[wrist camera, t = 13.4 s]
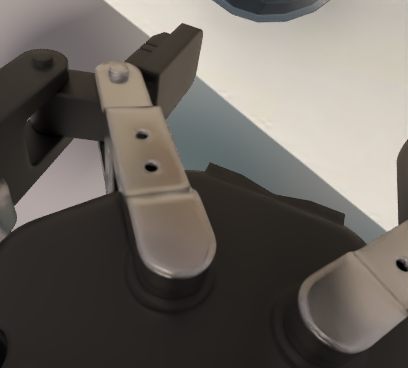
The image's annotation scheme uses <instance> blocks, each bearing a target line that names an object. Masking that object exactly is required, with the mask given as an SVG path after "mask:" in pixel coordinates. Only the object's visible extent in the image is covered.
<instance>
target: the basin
mask: <svg viewBox="0 0 408 368" xmlns="http://www.w3.org/2000/svg"><path fill="white" fill-rule="evenodd" d="M213 1H214V2H216V3H217V4H219V5H220V6H221V7H223V8H224V9H225V10H227V11H228V12H230V13H231V14H233V15H236V16H239V17H242V18H246V19H249V20H252V21H255V22H286V21H289V20H292V19H295V18H298V17H301V16H304V15H306V14H309V13H312V12H314V11H316V10H318V9H319V8H320V7H322V6H323V5H324V4H326V3H327V2H328V1H330V0H213Z"/></svg>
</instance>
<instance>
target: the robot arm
mask: <svg viewBox="0 0 408 368" xmlns="http://www.w3.org/2000/svg"><path fill="white" fill-rule="evenodd" d="M202 38H203V31H202V30H201V29H198V28H195V27H192V26H189V25H186V24H183V23H182V24H181V25H179V26H178V27H177V28H176V29H175V30H174V31H173V32H172V33H171V34H169V33H166V32H164V33H161V34H157V35H154V36H152V37H151V38H150V39H149V40H148V41H147V42H146V44H144V45H142V46H141V47H140V49H138V50H137V51H136V52H134V54H132V55H131V56H130V57H129V58H128V59H127V60H125V61H124V62H122V61H109V62H105V63H102V64H100V65H99V66H97V67H96V69H95V73H90V72H82V71H76V70H69V68H68V60H67V58H66V57H65V56H64V55H63V54H62V53H59V52H57V51H54V50H49V49H34V50H30V51H26V52H24V53H23V54H21V55H19V56H18V57H16V58H15V59H14V60H12V61H11V62H9V63H8V64H6V65H5V66H4V67H2V68H1V69H0V368H408V140H407V141H406V142H405V144H404V145H403V147H402V148H401V150H400V152H399V155H398V158H397V189H398V224H399V225H398V226H396V227H395V228H393V229H392V230H390V231H388V232H387V233H385V234H383V235H382V236H380V237H379V238H377V239H375V240H374V241H372V242H370V243H369V244H366V243H365V242H364V241H363V240H362V239H361V238H360V237H359V236H358V235H357V234H356V233H354V232H353V231H352V230H350V229H349V228H348V227H346V226H344V217H345V214H343V213H341V212H338V211H335V210H333V209H330V208H327V207H325V206H322V205H320V204H317V203H314V202H312V201H308V200H302V199H297V198H292V197H286V196H281V195H275V194H273V193H271V192H269V191H268V190H266V189H265V188H263V187H261V186H260V185H258V184H256V183H255V182H253V181H251V180H250V179H248V178H246V177H245V176H243V175H241V174H239V173H236V172H233V171H231V170H228V169H226V168H223V167H220V166H217V165H215V164H213V163H209V165H208V167H207V169H206V171H199V170H184V167H183V165H182V162H181V159H180V156H179V154H178V151H177V149H176V145H175V143H174V140H173V137H172V135H171V132H170V129H169V126H168V124H167V121H166V119H167V117H168V116H169V115H170V113H171V112H172V111H173V109H174V108H175V107H176V105H177V104H178V103H179V101H180V100H181V99H182V97H183V96H184V95H185V94H186V92H187V91H188V90H189V88H190V87H191V85H192V83H193V81H194V78H195V75H196V71H197V66H198V60H199V55H200V49H201V44H202ZM29 118H30V119H29ZM28 119H29V120H28ZM27 120H28V121H27ZM73 138H79V139H88V140H95V141H98V147H99V153H100V159H101V165H102V170H103V176H104V181H105V189H106V195H103V196H101V197H98V198H95V199H92V200H89V201H87V202H84V203H81V204H78V205H75V206H72V207H69V208H66V209H64V210H61V211H58V212H55V213H52V214H49V215H46V216H43V217H41V218H38V219H35V220H33V221H30V222H28V223H26V224H24V225H22V226H20V227H18V228H17V229H15V230H14V231H12V229H13V228H14V226H15V224H16V221H17V214H16V211H15V207H14V206H15V205H16V204H17V203H18V201H19V200H20V199H21V198H22V197H23V196H24V195H25V193H26V192H27V191H28V190H29V189H30V188H31V187H32V185H33V184H34V183H35V182H36V181H37V180H38V179H39V177H40V176H41V175H42V174H43V173H44V172H45V171H46V170H47V168H48V167H49V166H50V165H51V164H52V163H53V162H54V160H55V159H56V158H57V157H58V156H59V155H60V153H62V151H63V150H64V149H65V148H66V147H67V146H68V144H69V143H70V142H71V141H72V140H73ZM11 231H12V232H11Z"/></svg>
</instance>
